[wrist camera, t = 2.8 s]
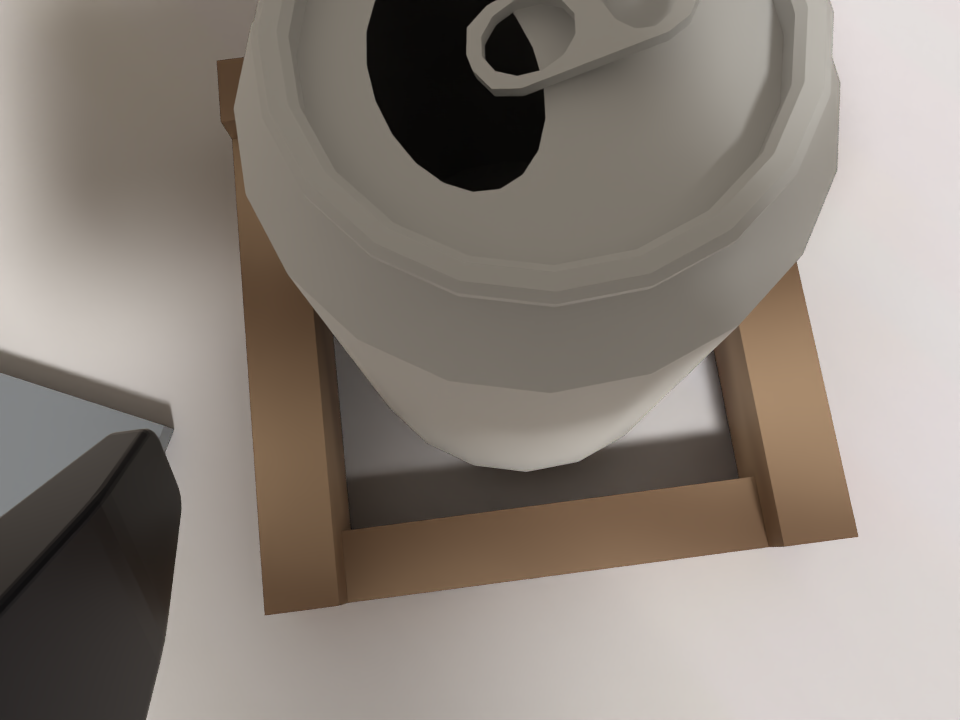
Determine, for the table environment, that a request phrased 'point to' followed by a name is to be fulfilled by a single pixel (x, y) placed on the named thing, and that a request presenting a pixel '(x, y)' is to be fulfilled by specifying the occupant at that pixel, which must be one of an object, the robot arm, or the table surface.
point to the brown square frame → (533, 529)
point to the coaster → (51, 434)
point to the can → (536, 196)
